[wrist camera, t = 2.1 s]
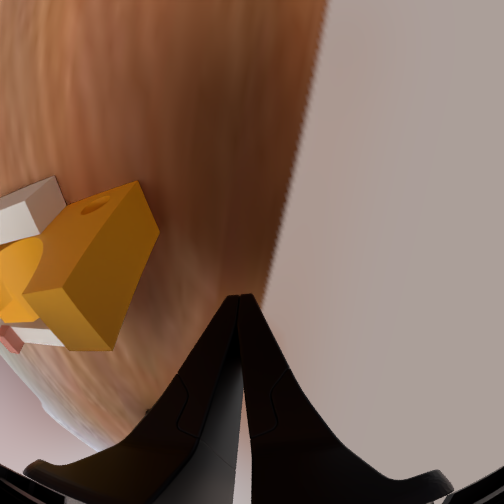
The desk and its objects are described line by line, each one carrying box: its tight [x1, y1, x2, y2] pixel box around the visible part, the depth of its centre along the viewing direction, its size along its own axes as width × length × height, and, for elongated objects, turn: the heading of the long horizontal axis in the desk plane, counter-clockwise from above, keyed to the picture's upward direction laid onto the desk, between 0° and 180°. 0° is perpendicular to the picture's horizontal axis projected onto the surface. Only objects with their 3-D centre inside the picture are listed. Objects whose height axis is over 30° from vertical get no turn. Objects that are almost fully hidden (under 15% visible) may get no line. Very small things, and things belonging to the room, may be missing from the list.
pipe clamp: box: [0, 180, 160, 351], centre depth 11 cm, size 12×4×6 cm, turn 103°
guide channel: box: [0, 176, 125, 354], centre depth 12 cm, size 9×12×3 cm
